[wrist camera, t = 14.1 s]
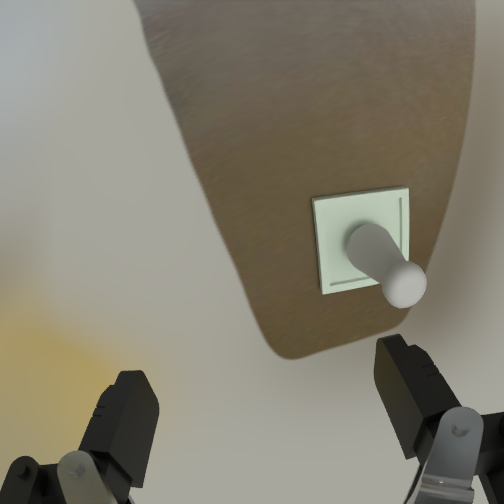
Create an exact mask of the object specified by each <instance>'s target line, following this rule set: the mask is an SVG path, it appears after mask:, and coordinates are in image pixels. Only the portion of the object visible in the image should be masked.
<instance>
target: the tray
mask: <svg viewBox="0 0 504 504" xmlns="http://www.w3.org/2000/svg"><path fill="white" fill-rule="evenodd" d="M312 207H313V216H314V225H315V234H316V245H317V255H318V267H319V279H320V289H321V292H322V294H328V293H334V292H339V291H344V290H349V289H355V288H360V287H365V286H370V285H375V284H379V283H378V282H377V281H375V280H373V279H372V278H370V277H369V276H367V275H366V274H364V273H363V272H361V271H359V270H358V269H356V268H355V267H354V266H353V265H352V264H351V262H350V261H349V259H348V256H347V248H346V247H347V244H348V241H349V237H350V234H351V233H352V232H353V231H355V230H356V229H357V228H359V227H360V226H361V225H365V224H377V225H379V226H381V227H383V228H385V229H387V231H388V232H389V234H390V235H391V237H392V238H393V240H394V242H395V243H396V245H397V246H398V248H399V250H400V251H401V253H402V254H403V256H404V258H405V259H406V261H408V257H409V191H408V188H406V187H404V186H401V187H392V188H383V189H375V190H367V191H359V192H352V193H344V194H337V195H330V196H322V197H315V198H312Z"/></svg>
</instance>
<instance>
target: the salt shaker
mask: <svg viewBox="0 0 504 504" xmlns="http://www.w3.org/2000/svg"><path fill="white" fill-rule="evenodd" d="M346 248H347V256H348V259H349V261H350V262H351V264H352V265H353V266H354V267H355V268H356V269H358V270H359V271H361V272H363V273H364V274H366V275H367V276H369V277H370V278H372V279H373V280H375V281H377V282H378V283H380V284H381V285H382V293H383V294H384V296H385V297H386V299H387V300H388V302H389V303H390V304H392V305H393V306H395V307H397V308H407V307H410V306H412V305H413V304H415V303H417V301H418V300H419V299H420V298H421V297H422V296H423V294H424V291H425V289H426V281H427V280H426V276H425V274H424V272H423V270H422V269H421V267H419V266H418V265H416V264H415V263H413V262H411V261H406V259H405V258H404V256H403V254H402V253H401V251H400V250H399V248H398V246H397V245H396V243H395V242H394V240H393V238H392V237H391V235H390V234H389V232H388V231H387V229H385V228H383V227H381V226H379V225H377V224H365V225H361V226H360V227H359V228H357V229H356V230H355V231H353V232H352V233H351V234H350V237H349V241H348V244H347V247H346Z"/></svg>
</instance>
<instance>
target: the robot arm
mask: <svg viewBox="0 0 504 504" xmlns="http://www.w3.org/2000/svg"><path fill="white" fill-rule="evenodd" d="M374 380H375V384H376V387H377V390H378V392H379V394H380V397H381V399H382V401H383V404H384V406H385V408H386V411H387V413H388V416H389V418H390V420H391V423H392V425H393V427H394V430H395V433H396V435H397V438H398V440H399V442H400V445H401V448H402V450H403V453H404V455H405V458H406V460H407V459H410V458H413V457H416V456H417V458H418V461H419V463H420V464H419V466H418V468H417V471H416V474H415V476H414V478H413V481H412V483H411V486H410V488H409V490H408V493H407V495H406V497H405V499H404V502H403V504H472V503H473V499H474V489H472V488H471V484H472V480H473V476H475V475H478V476H479V479H480V481H481V483H482V486H483V489H484V491H485V494H486V497H487V500H488V502H489V504H504V412H500V413H494V414H487V415H480V414H479V413H478V412H477V411H475V410H474V409H471V408H469V407H462V405H461V404H460V403H459V401H458V400H457V398H456V396H455V395H454V393H453V392H452V390H451V388H450V387H449V385H448V384H447V382H446V381H445V379H444V377H443V376H442V374H441V373H439V370H438V368H437V367H436V365H434V362H433V361H432V359H431V358H430V356H429V355H428V353H427V352H426V351H424V350H423V349H421V348H420V347H418V346H417V345H411V346H408V345H407V344H406V342H405V341H404V339H403V338H402V336H401V335H400V334H395V335H391V336H386V337H382V338H379V339H378V340H377V343H376V355H375V364H374ZM96 406H97V408H95V410H94V412H93V417H91V419H90V422H89V424H88V426H87V429H86V432H85V434H84V436H83V439H82V441H81V444H80V446H79V449H78V451H72V452H69V453H67V454H66V455H65V456H63V457H62V458H61V460H60V461H59V463H57V464H49V465H39V464H38V463H37V462H36V461H35V460H34V459H33V458H32V457H29V456H22V457H19V458H17V459H16V460H15V461H14V462H13V463H12V464H11V466H10V468H9V470H8V473H7V475H6V478H5V480H4V483H3V486H2V488H1V491H0V504H135V503H134V501H133V499H132V498H131V496H130V495H129V491H130V487H136V488H142V487H143V482H144V478H145V473H146V468H147V464H148V460H149V454H150V450H151V446H152V442H153V438H154V434H155V429H156V425H157V421H158V417H159V403H158V400H157V397H156V395H155V394H154V392H153V390H152V388H151V386H150V384H149V382H148V380H147V378H146V376H145V374H144V372H143V371H141V370H136V371H135V370H134V371H121V372H120V373H119V375H118V377H117V379H116V382H115V384H114V385H110V386H109V387H108V388H107V389H106V390H105V391H104V392H103V393H102V394H101V396H100V398H99V401H98V403H97V405H96Z"/></svg>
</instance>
